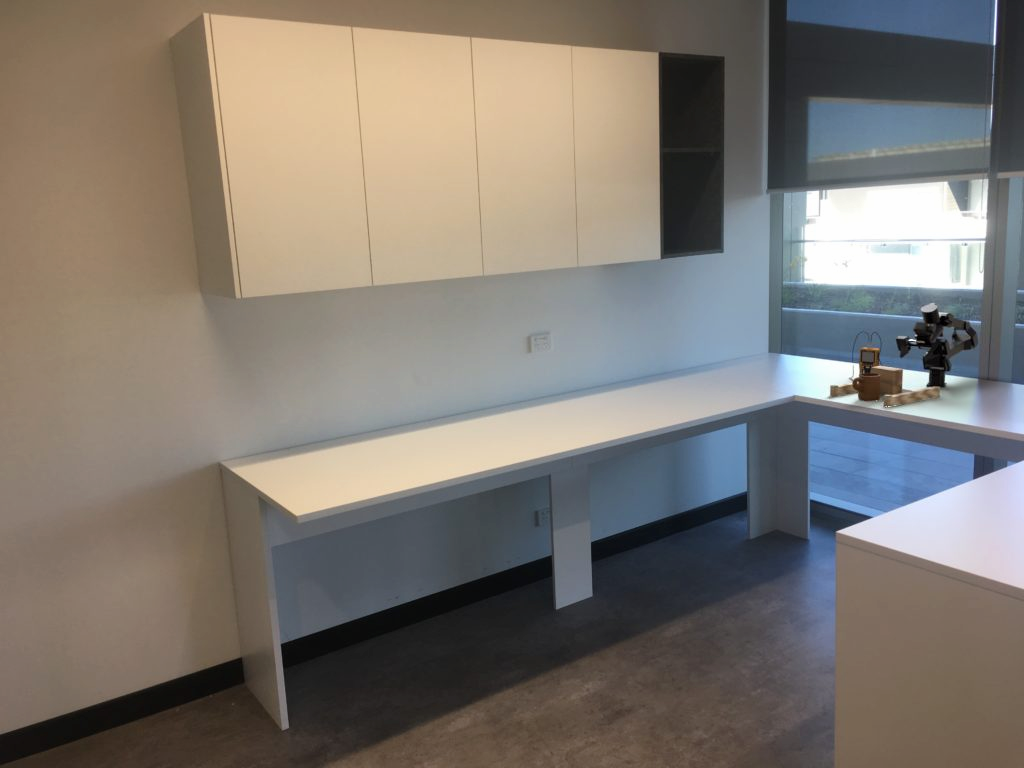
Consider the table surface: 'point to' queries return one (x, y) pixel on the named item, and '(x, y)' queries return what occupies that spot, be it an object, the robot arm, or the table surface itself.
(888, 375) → the wooden block
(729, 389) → the table surface
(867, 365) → the multimeter
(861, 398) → the mug
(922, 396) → the channel
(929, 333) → the robot arm
